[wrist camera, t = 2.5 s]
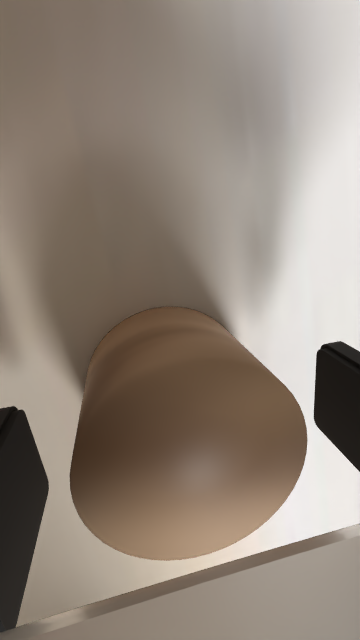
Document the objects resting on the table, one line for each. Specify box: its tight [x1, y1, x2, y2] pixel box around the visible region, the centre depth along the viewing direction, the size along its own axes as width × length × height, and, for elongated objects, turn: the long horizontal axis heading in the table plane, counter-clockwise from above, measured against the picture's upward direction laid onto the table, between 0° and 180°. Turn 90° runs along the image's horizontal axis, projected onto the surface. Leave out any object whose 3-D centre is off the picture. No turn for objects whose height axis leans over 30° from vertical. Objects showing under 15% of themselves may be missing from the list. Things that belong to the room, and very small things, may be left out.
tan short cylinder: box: [70, 307, 307, 560], centre depth 11 cm, size 7×7×5 cm
